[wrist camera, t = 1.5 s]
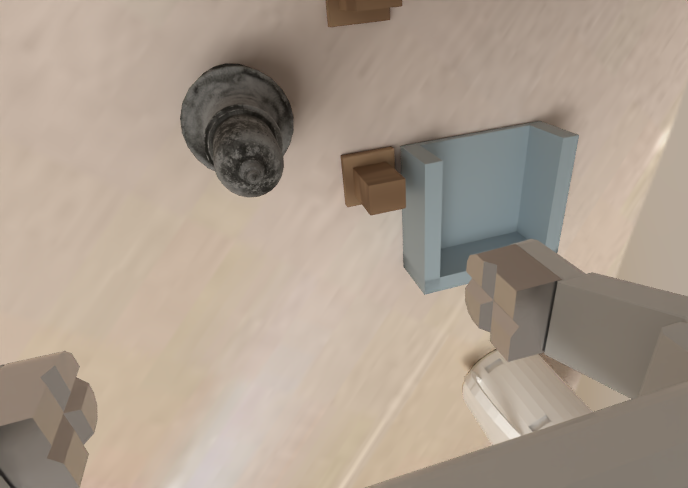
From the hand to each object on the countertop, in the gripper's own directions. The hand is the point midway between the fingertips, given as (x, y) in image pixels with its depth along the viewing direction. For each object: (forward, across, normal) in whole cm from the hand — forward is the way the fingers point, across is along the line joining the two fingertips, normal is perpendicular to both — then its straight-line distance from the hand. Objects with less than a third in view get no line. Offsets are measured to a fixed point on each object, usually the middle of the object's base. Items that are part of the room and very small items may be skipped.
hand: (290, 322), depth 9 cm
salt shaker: (+21, 0, 0) cm, 21 cm away
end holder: (+20, -16, +9) cm, 27 cm away
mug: (+21, -20, +29) cm, 41 cm away
